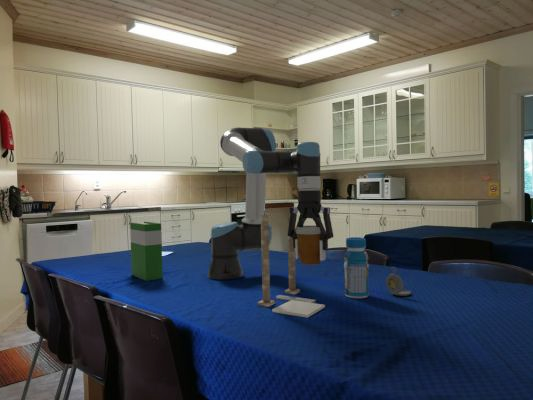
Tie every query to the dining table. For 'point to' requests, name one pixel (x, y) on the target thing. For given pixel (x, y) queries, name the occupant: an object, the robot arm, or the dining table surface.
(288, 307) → the tile
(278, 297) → the guide strip
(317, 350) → the dining table surface
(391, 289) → the pocket watch
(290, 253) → the gate posts
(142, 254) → the hardback book
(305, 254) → the disposable coffee cup
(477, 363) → the dining table surface
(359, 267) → the beverage bottle
